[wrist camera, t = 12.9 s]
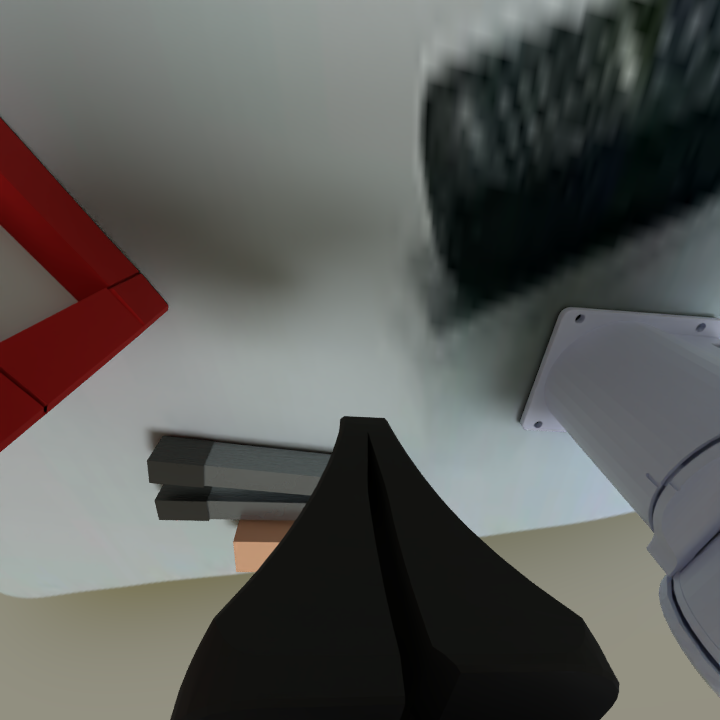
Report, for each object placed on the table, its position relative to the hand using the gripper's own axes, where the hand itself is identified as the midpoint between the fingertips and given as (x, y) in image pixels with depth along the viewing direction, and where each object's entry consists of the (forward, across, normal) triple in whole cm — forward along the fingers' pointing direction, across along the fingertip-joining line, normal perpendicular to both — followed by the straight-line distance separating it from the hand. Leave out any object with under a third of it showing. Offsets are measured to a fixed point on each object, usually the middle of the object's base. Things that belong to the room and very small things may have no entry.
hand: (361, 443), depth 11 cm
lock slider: (+9, +4, +15) cm, 18 cm away
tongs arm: (+9, +3, +10) cm, 14 cm away
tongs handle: (+9, +4, +12) cm, 16 cm away
